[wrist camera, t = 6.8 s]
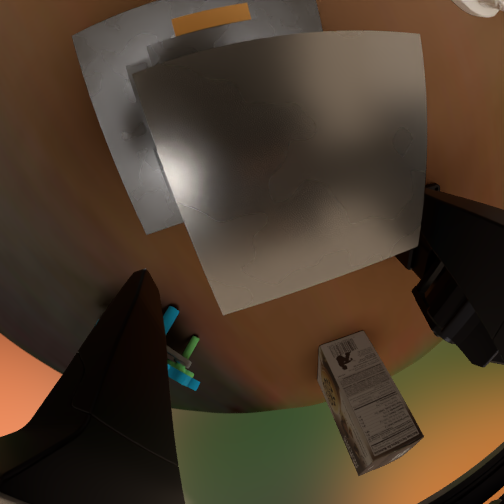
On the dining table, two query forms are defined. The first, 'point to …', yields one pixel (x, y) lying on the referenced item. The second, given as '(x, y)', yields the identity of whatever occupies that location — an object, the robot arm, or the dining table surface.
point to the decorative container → (480, 7)
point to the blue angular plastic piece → (181, 360)
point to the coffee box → (365, 403)
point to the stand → (158, 51)
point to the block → (292, 156)
